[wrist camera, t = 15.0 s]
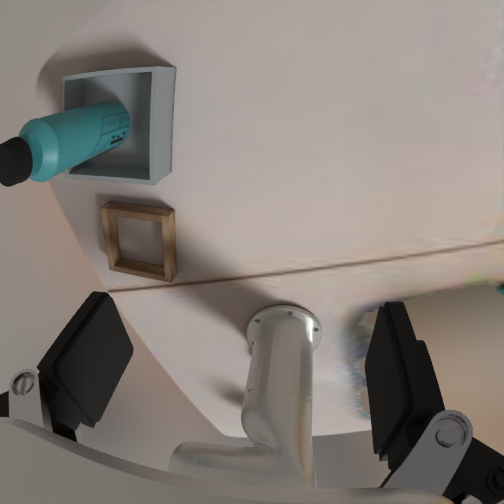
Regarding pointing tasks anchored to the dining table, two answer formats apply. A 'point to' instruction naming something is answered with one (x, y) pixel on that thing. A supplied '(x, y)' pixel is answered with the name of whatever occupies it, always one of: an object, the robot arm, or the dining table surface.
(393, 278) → the dining table surface
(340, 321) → the dining table surface
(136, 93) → the bin
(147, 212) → the collar
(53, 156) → the beverage bottle
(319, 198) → the dining table surface
